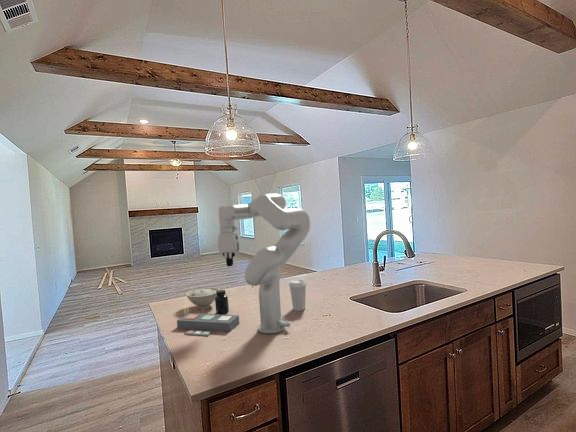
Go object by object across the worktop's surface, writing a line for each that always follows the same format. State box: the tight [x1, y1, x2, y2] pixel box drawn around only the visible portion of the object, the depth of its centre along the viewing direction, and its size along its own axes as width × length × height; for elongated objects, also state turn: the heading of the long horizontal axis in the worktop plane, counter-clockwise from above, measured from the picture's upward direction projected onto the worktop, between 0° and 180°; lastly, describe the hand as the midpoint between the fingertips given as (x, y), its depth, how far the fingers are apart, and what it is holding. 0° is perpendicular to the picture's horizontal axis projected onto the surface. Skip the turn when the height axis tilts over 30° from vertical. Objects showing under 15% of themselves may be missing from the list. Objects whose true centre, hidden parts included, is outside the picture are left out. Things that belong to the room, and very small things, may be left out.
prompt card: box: [184, 329, 213, 337], centre depth 146 cm, size 12×4×1 cm, turn 74°
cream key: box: [217, 316, 232, 321], centre depth 152 cm, size 5×5×3 cm
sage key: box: [200, 315, 215, 320], centre depth 155 cm, size 5×5×3 cm
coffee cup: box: [288, 278, 307, 312], centre depth 172 cm, size 10×10×15 cm
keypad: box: [176, 312, 240, 333], centre depth 155 cm, size 28×10×4 cm, turn 74°
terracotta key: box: [184, 314, 199, 320], centre depth 157 cm, size 5×5×3 cm
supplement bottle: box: [214, 289, 230, 315], centre depth 172 cm, size 7×7×12 cm
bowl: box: [185, 286, 221, 310], centre depth 185 cm, size 19×19×10 cm
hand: (230, 265), depth 162 cm, fingers closed
